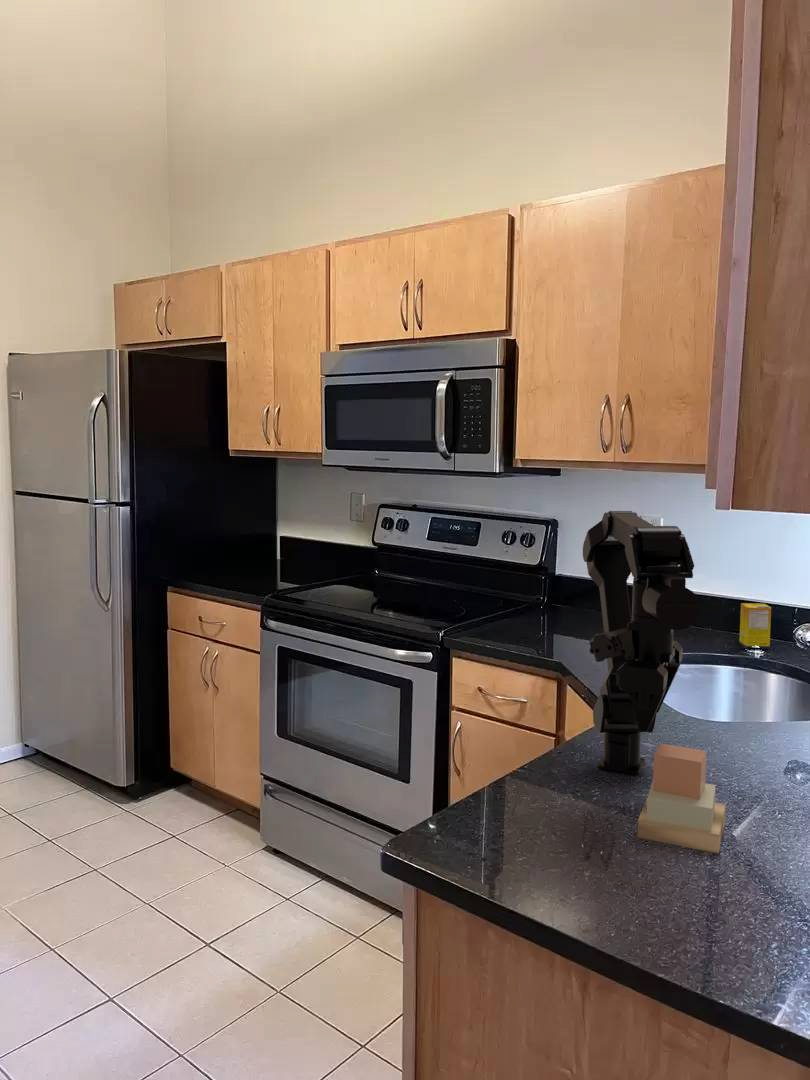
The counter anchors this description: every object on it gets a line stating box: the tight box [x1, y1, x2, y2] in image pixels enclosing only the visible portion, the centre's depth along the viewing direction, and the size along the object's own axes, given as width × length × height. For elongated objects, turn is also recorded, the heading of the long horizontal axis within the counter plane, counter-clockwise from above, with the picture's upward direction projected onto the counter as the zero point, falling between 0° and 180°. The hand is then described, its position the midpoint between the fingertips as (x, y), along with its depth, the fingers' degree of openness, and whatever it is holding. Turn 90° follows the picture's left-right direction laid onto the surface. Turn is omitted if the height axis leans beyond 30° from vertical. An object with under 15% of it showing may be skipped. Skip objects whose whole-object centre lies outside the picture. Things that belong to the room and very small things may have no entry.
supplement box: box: [738, 602, 772, 650], centre depth 211 cm, size 6×6×11 cm
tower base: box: [637, 799, 727, 854], centre depth 110 cm, size 10×10×3 cm
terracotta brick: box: [652, 743, 708, 799], centre depth 110 cm, size 4×6×5 cm
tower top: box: [646, 781, 717, 831], centre depth 109 cm, size 8×8×3 cm
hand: (649, 721), depth 117 cm, fingers open, 9 cm apart
